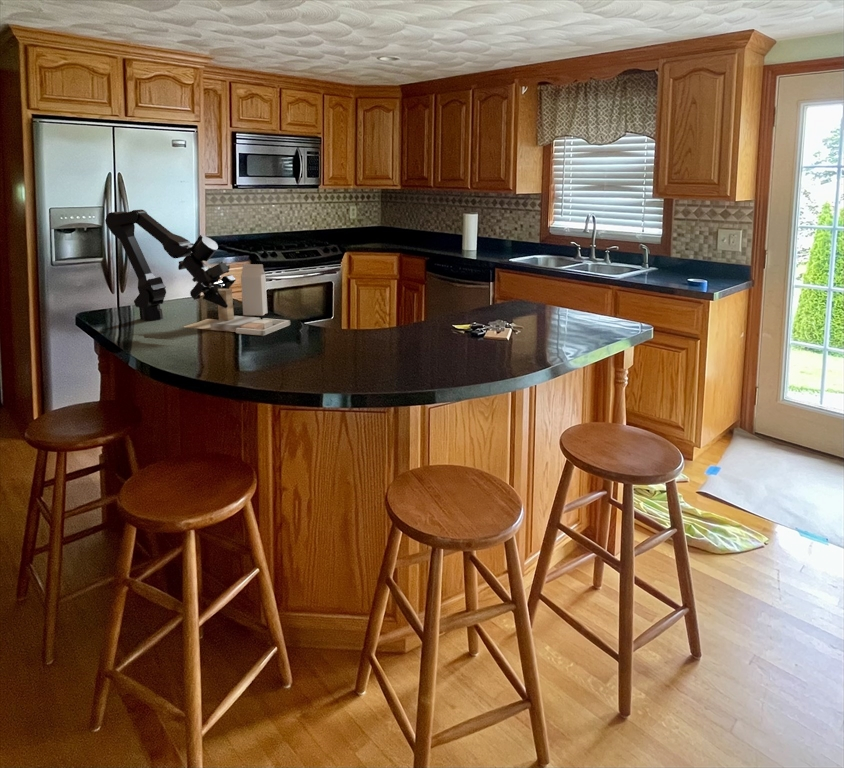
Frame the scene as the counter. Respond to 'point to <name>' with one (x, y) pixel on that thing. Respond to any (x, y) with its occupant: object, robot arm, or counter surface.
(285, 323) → the tray
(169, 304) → the counter surface
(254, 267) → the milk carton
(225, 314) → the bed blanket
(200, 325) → the board
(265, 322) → the tile
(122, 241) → the robot arm
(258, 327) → the tile
